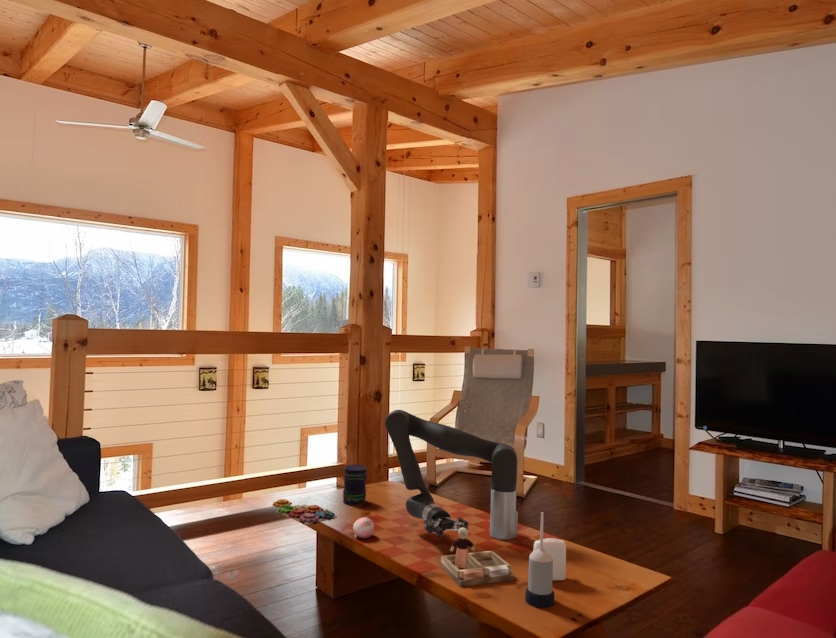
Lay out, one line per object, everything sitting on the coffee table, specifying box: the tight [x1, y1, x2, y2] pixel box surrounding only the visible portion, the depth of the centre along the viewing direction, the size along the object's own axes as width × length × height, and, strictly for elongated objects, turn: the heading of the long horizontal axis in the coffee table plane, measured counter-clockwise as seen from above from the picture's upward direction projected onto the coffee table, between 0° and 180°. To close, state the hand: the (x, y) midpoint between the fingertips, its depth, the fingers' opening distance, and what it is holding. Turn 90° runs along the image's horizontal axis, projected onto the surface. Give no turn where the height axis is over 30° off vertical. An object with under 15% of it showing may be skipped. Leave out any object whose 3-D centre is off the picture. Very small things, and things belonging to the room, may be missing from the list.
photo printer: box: [532, 537, 567, 581], centre depth 190 cm, size 10×4×12 cm, turn 96°
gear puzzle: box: [272, 498, 337, 526], centre depth 250 cm, size 31×16×4 cm, turn 46°
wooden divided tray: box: [439, 550, 515, 588], centre depth 193 cm, size 18×16×4 cm
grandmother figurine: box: [449, 527, 476, 570], centre depth 192 cm, size 8×4×13 cm, turn 105°
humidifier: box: [524, 512, 555, 609], centre depth 174 cm, size 8×8×25 cm
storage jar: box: [342, 464, 367, 506], centre depth 266 cm, size 10×10×15 cm
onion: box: [352, 516, 375, 540], centre depth 223 cm, size 8×8×7 cm
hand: (454, 532), depth 200 cm, fingers open, 8 cm apart
